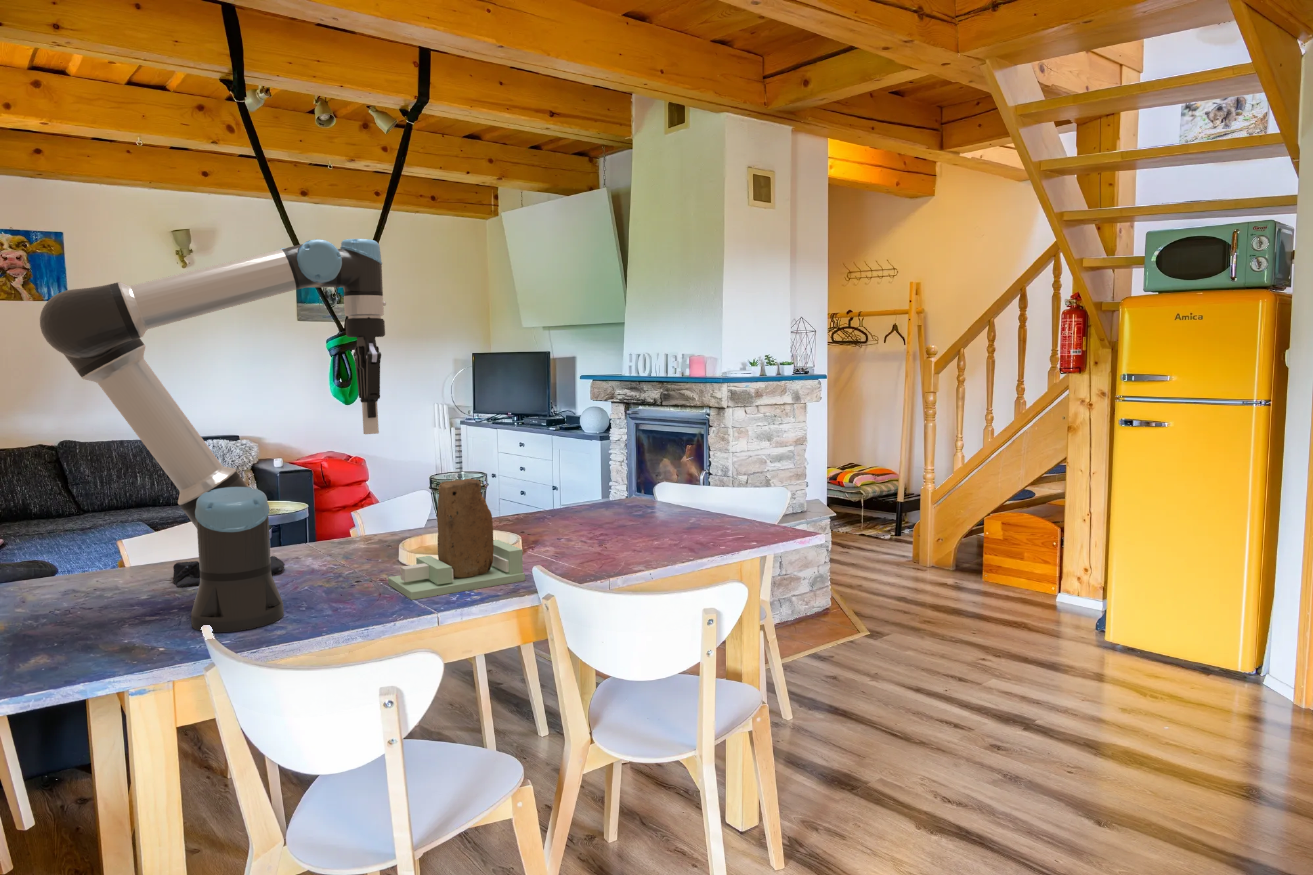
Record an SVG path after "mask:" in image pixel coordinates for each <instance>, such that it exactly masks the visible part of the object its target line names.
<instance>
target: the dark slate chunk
mask: <svg viewBox="0 0 1313 875" xmlns="http://www.w3.org/2000/svg"><path fill="white" fill-rule="evenodd" d="M270 558H271V574H272V576H273V575H274V574H277V573H280V572H282V570H283V569H284V567H285V565H286V564H285V562H284V561H283V560H282V559H280V558H278V557H277V556H274V555H272V556H271V555H270ZM173 584H175V586H177V587H178V588H189V587H192V586H193V587H194V586H199V585H200V569H199V560H193V561H191V560H190V561H179V562H178V561H177V562H176V563H175V564H174V565H173Z"/></svg>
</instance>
